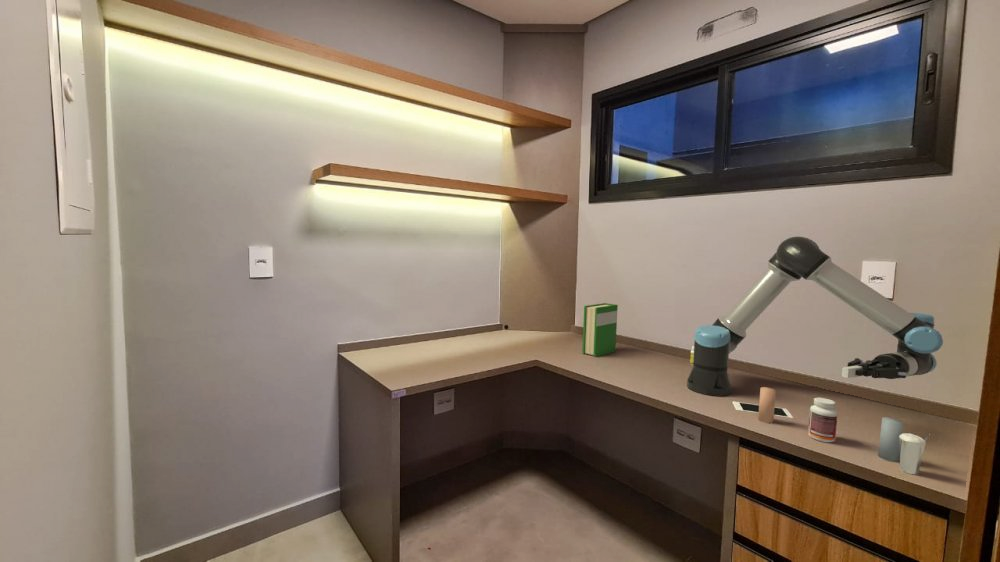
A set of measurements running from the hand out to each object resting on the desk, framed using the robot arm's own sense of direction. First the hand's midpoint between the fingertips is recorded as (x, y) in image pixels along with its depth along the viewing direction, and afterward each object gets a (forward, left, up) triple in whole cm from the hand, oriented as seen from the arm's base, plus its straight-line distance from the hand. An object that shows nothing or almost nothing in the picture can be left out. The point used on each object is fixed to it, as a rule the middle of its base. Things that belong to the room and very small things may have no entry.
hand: (845, 372), depth 117 cm
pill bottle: (-3, -7, -19) cm, 20 cm away
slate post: (+11, -8, -18) cm, 23 cm away
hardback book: (-95, +27, -19) cm, 101 cm away
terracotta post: (-17, -5, -18) cm, 26 cm away
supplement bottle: (-54, +42, -19) cm, 71 cm away
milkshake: (+15, -13, -19) cm, 27 cm away
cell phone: (-20, +4, -19) cm, 28 cm away
